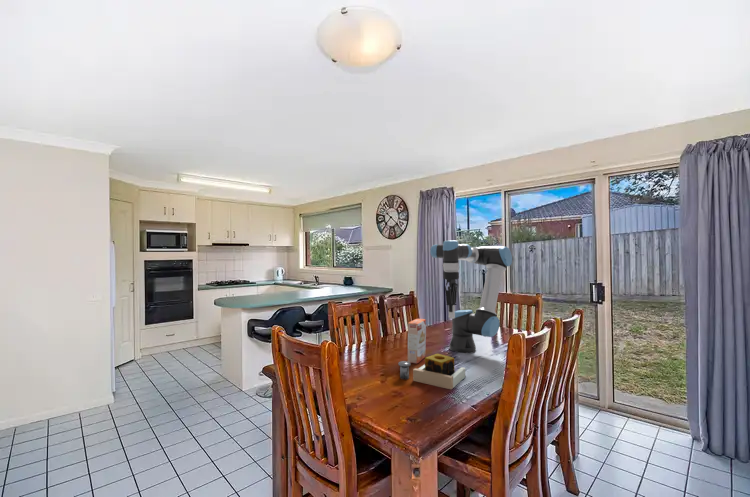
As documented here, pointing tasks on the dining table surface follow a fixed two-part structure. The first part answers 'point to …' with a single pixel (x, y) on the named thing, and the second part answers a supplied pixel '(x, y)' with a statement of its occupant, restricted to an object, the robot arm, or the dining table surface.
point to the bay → (438, 377)
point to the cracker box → (416, 340)
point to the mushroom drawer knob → (404, 369)
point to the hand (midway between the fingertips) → (451, 318)
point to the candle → (440, 364)
